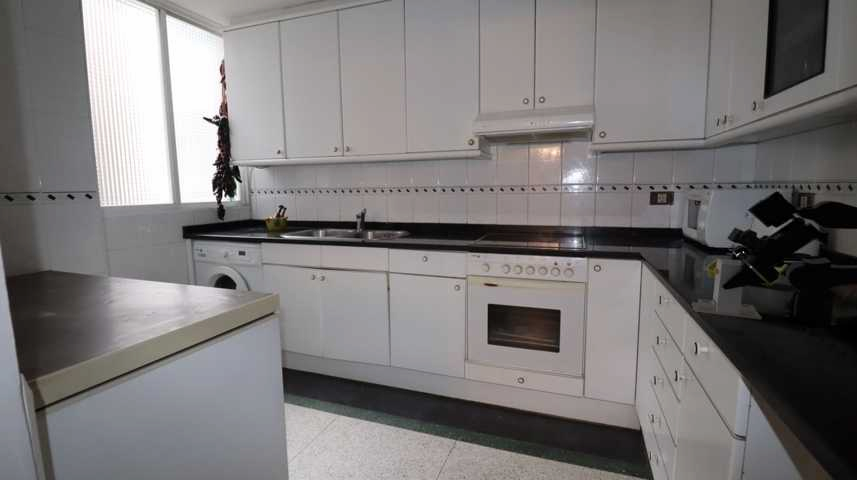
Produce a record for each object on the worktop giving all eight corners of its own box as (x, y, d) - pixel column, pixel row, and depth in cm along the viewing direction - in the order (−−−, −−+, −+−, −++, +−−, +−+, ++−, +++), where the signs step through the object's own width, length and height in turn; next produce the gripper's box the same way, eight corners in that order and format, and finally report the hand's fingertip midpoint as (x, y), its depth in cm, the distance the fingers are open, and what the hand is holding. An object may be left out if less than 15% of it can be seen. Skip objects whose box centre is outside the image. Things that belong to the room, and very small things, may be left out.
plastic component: (702, 270, 135) (720, 255, 138) (708, 288, 137) (725, 273, 140) (772, 278, 117) (790, 261, 120) (778, 299, 119) (795, 282, 122)
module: (734, 307, 101) (739, 259, 99) (739, 314, 95) (745, 264, 93) (708, 304, 103) (713, 258, 102) (712, 311, 98) (717, 262, 96)
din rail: (754, 311, 99) (755, 303, 99) (761, 319, 93) (762, 311, 93) (691, 303, 105) (692, 296, 105) (694, 311, 99) (695, 303, 99)
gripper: (746, 214, 102) (691, 253, 109) (766, 220, 86) (699, 265, 93) (782, 246, 100) (723, 284, 106) (810, 259, 83) (738, 303, 90)
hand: (720, 283), depth 99 cm, fingers open, 9 cm apart
